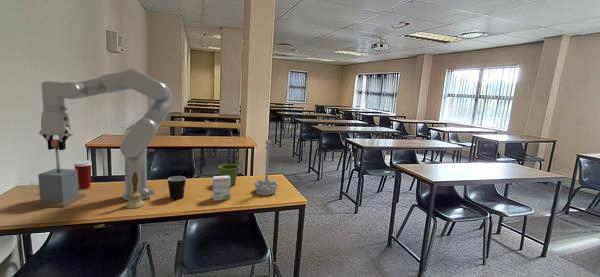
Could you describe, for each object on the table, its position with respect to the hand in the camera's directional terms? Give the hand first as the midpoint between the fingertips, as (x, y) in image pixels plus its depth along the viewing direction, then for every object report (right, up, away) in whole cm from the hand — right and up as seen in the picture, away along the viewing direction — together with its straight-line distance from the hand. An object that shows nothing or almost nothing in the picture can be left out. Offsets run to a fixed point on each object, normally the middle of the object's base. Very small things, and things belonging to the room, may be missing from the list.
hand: (56, 149), depth 136 cm
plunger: (-1, -14, +2) cm, 14 cm away
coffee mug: (+48, -25, +19) cm, 57 cm away
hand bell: (+33, -27, +4) cm, 43 cm away
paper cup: (-4, -22, +23) cm, 31 cm away
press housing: (-2, -24, +4) cm, 25 cm away
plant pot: (+68, -23, +42) cm, 83 cm away
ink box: (+70, -27, +19) cm, 77 cm away
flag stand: (+92, -26, +34) cm, 101 cm away
